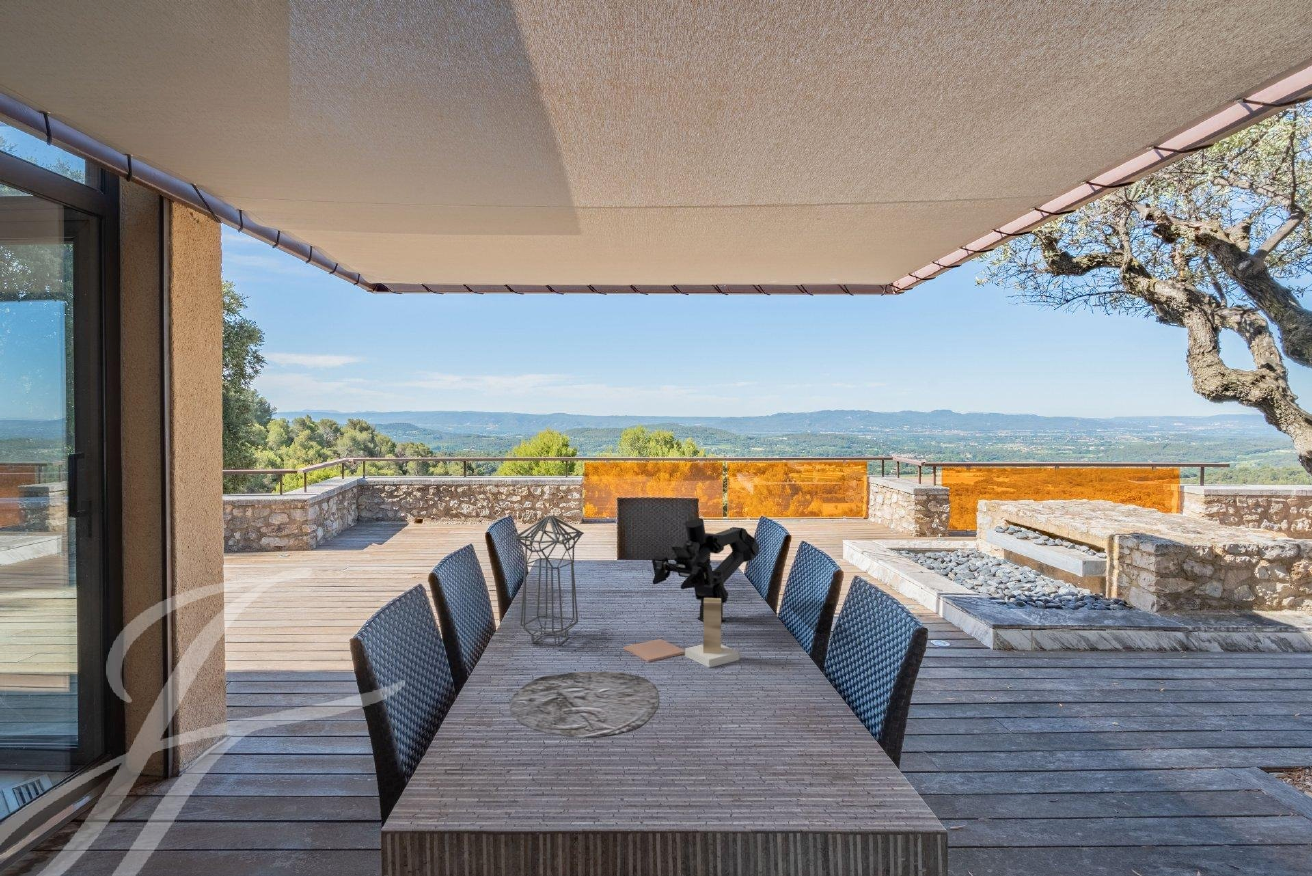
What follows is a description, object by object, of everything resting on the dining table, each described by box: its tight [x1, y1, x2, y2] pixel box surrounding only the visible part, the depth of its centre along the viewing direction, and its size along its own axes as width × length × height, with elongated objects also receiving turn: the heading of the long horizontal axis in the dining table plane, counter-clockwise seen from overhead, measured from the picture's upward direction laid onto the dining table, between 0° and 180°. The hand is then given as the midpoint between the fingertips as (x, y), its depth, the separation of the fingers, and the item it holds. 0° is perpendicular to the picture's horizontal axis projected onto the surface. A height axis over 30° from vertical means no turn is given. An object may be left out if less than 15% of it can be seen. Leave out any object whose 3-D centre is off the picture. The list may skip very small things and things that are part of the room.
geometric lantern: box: [513, 515, 585, 646], centre depth 190 cm, size 16×16×35 cm
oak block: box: [702, 598, 722, 653], centre depth 176 cm, size 4×4×13 cm
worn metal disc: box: [509, 670, 660, 739], centre depth 149 cm, size 33×35×1 cm
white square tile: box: [684, 643, 740, 668], centre depth 177 cm, size 10×10×2 cm
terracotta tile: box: [623, 638, 685, 663], centre depth 182 cm, size 12×12×1 cm
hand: (667, 585), depth 188 cm, fingers open, 9 cm apart
